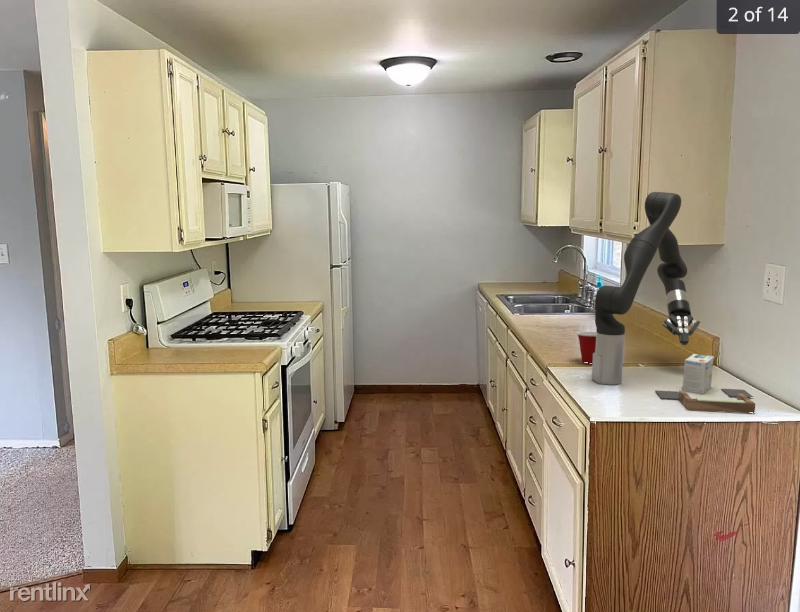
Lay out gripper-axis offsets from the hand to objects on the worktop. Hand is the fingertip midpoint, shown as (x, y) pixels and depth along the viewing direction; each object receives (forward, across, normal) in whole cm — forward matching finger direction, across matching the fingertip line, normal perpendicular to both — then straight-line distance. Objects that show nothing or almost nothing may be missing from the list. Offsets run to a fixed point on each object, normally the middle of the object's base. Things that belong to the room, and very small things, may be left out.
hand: (684, 343), depth 219 cm
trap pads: (+25, 0, -9) cm, 27 cm away
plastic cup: (-1, -31, +18) cm, 35 cm away
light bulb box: (+20, 0, -4) cm, 21 cm away
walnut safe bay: (+33, 0, -17) cm, 38 cm away
